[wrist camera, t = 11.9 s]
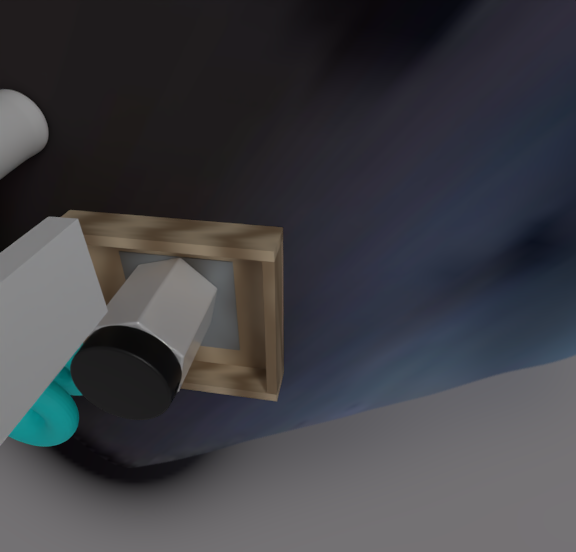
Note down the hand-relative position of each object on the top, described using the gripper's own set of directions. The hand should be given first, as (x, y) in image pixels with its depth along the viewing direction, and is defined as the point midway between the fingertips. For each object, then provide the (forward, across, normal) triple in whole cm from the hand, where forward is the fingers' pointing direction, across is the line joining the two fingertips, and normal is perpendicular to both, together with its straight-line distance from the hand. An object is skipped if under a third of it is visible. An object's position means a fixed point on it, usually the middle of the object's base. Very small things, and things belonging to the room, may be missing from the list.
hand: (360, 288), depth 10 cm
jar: (+25, +18, +20) cm, 37 cm away
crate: (+26, +18, +22) cm, 38 cm away
